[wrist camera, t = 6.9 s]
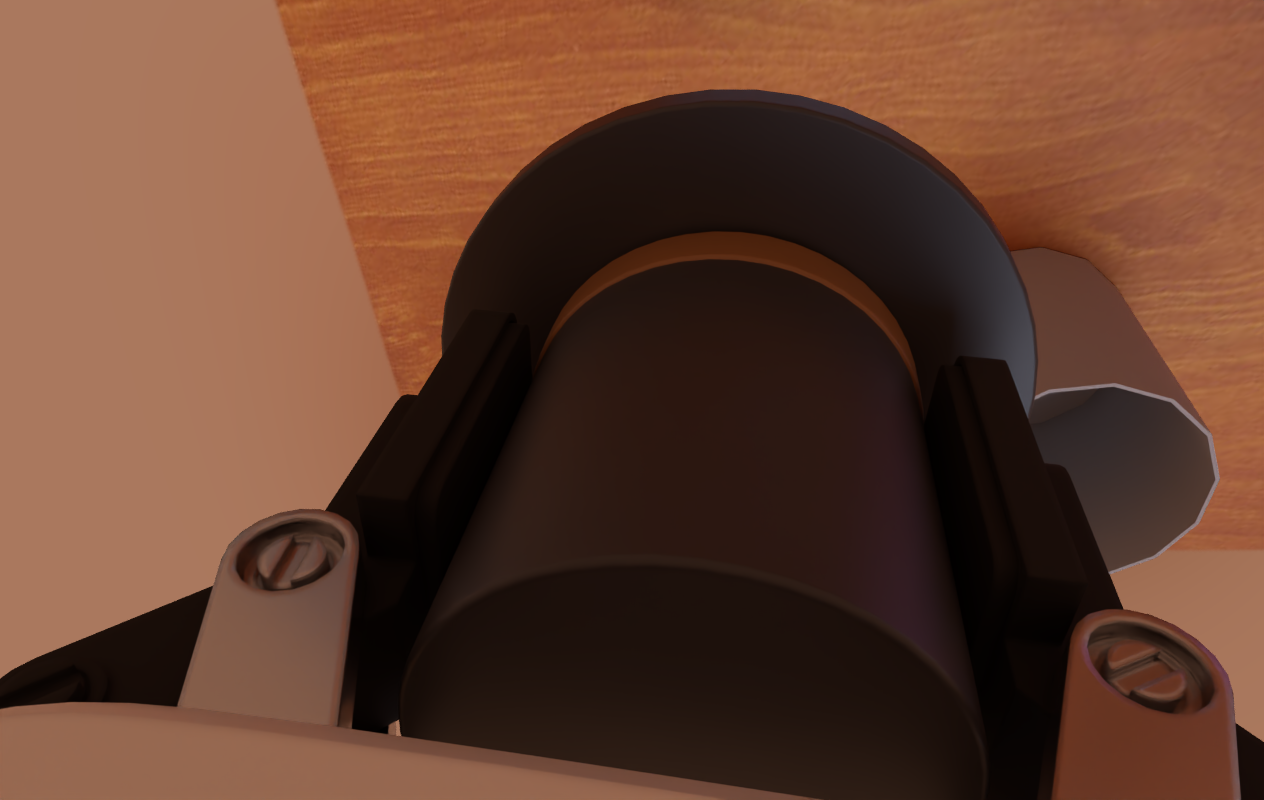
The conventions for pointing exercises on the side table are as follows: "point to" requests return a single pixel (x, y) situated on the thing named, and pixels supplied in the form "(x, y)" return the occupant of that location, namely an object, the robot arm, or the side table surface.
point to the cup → (1113, 413)
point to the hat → (724, 457)
